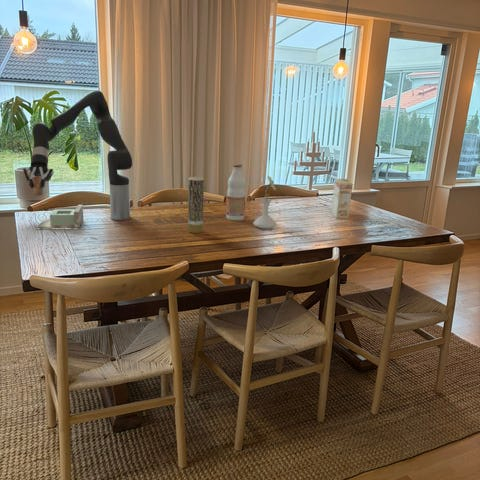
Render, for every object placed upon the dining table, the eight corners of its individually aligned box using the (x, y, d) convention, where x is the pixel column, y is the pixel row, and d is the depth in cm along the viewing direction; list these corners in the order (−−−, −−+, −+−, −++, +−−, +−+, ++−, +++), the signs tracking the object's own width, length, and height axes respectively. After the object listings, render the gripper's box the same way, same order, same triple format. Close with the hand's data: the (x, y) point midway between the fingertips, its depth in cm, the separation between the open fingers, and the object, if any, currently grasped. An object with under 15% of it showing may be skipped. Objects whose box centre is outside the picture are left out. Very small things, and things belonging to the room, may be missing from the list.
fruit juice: (233, 221, 232) (236, 166, 223) (222, 217, 238) (224, 163, 230) (247, 219, 237) (250, 165, 229) (236, 215, 244) (238, 162, 236)
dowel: (43, 194, 222) (42, 176, 219) (41, 195, 218) (40, 178, 215) (34, 194, 221) (33, 176, 218) (33, 195, 217) (31, 177, 215)
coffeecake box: (348, 219, 247) (353, 183, 241) (335, 218, 247) (339, 183, 241) (343, 212, 261) (347, 178, 255) (330, 212, 261) (334, 178, 256)
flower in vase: (274, 231, 218) (278, 179, 211) (251, 229, 220) (254, 177, 213) (278, 224, 230) (281, 175, 223) (255, 222, 232) (258, 173, 225)
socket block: (78, 219, 218) (77, 209, 217) (74, 225, 208) (74, 214, 207) (55, 219, 216) (54, 209, 214) (50, 225, 206) (49, 215, 205)
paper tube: (203, 230, 215) (205, 177, 207) (201, 234, 208) (202, 179, 201) (189, 229, 215) (190, 176, 208) (186, 233, 209) (187, 178, 201)
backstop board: (83, 220, 220) (82, 204, 218) (79, 228, 207) (78, 211, 205) (43, 221, 217) (42, 204, 215) (37, 229, 204) (35, 211, 201)
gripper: (56, 163, 229) (54, 191, 221) (26, 162, 226) (22, 191, 218) (53, 153, 222) (51, 182, 215) (22, 153, 220) (18, 182, 212)
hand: (36, 187), depth 216 cm, fingers closed on dowel, 4 cm apart
